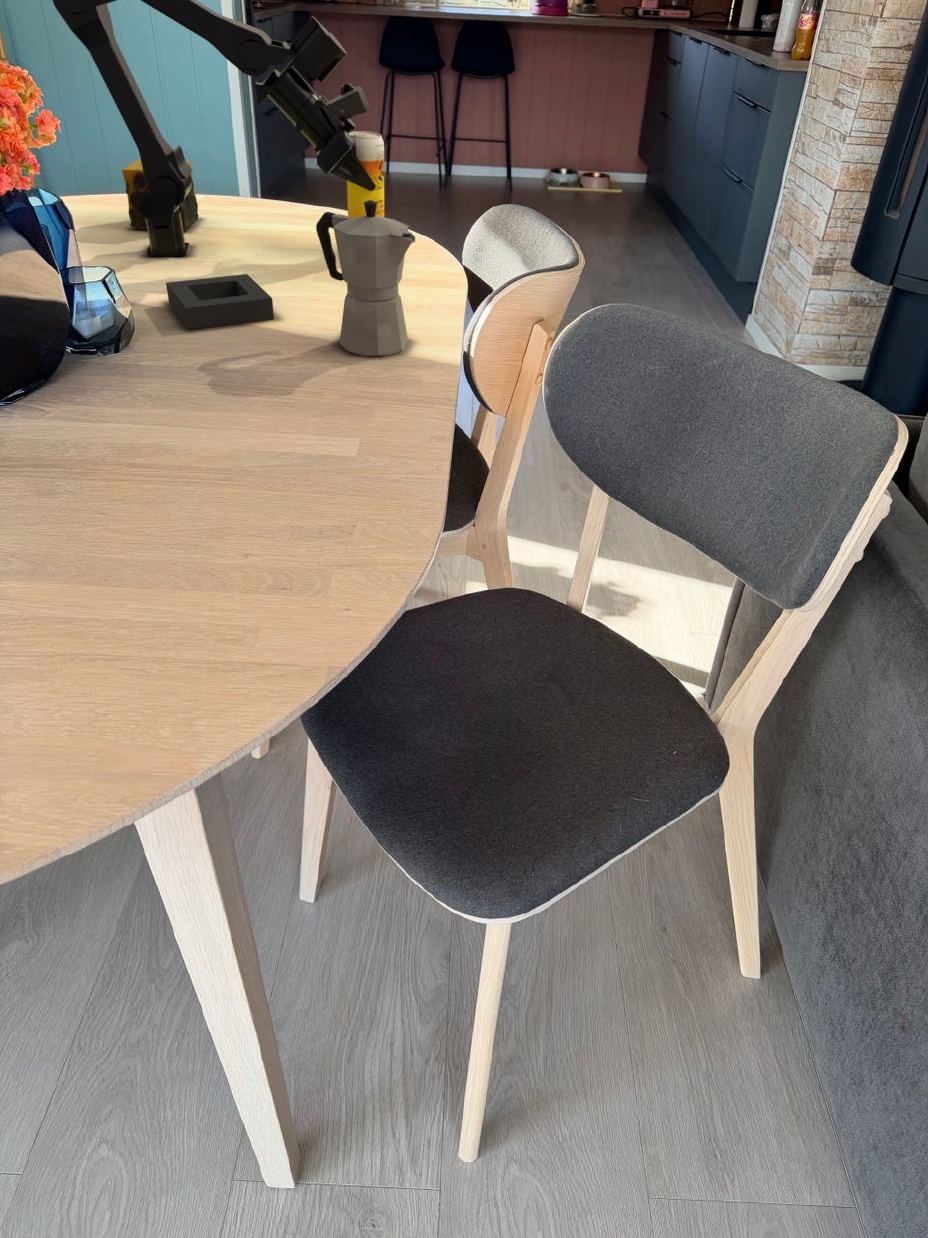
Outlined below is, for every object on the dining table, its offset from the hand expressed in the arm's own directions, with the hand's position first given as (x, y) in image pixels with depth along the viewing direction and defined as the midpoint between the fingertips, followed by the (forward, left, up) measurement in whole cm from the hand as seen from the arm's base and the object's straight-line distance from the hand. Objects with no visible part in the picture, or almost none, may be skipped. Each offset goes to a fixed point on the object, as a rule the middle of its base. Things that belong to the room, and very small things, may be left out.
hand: (374, 184), depth 148 cm
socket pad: (+28, -25, -11) cm, 39 cm away
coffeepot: (+42, -5, -11) cm, 44 cm away
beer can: (0, -1, -8) cm, 8 cm away
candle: (-21, -37, -11) cm, 44 cm away
